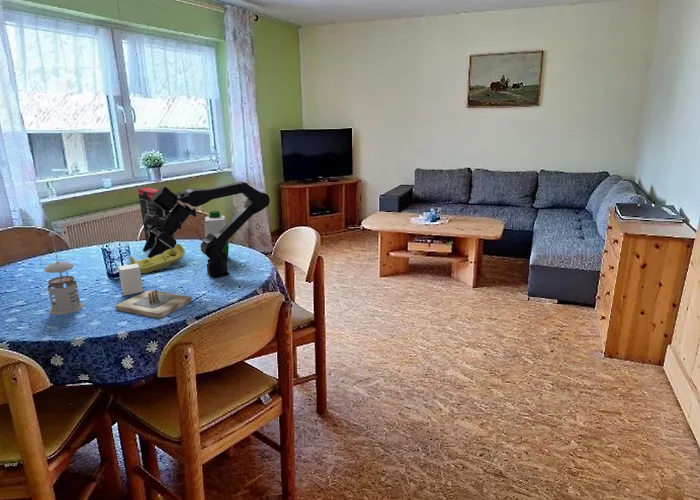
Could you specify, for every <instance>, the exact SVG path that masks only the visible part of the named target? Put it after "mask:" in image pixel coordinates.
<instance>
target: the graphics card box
mask: <svg viewBox="0 0 700 500" xmlns="http://www.w3.org/2000/svg"><path fill="white" fill-rule="evenodd" d="M159 190H160V189H157V188H153V187H143V188H142V187H141V188H137V192H138V199H139V206H140V213H141V218H142V225H143V230H144V236H145V237H144V238H145V243H146V242H147V240H148V237H149V232H148V229H149V228H148V227H149V226H150V225H147V224H145V223H144V222H143V220H144V217H145V214H146V213H147V214H151V215H154V214H155V215H158V216H159V217H160V218H162V217H163V216H165V215H166V216H167V215H168V214H169V213H170V212H171V210H170V211H169V210H167V211H164V210H163V209H161V208H160V207H159V206H157V205H156V204H155V203H153V202H152V201H151V199H152V197H153V195H154V194H155V193H156V192H158V191H159ZM169 215H170V214H169ZM149 230H150V229H149ZM171 248H172V247H171ZM161 254H163V252H162V253H161Z"/></svg>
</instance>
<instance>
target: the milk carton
mask: <svg viewBox="0 0 700 500" xmlns="http://www.w3.org/2000/svg"><path fill="white" fill-rule="evenodd" d="M204 218H205V219H204V233H205V234H204V235H205V236H204V237H205V238H206V237H207V236H208V234H209V233H211V234H213V235H214V234H216V233H218V232H219V231H220V230H221V229H222V228H223V227H224V226H225V225H226V224H227V219H226V216H225V215H221V214H220V211H219V210H213V211H209V216H205V217H204ZM229 246H230V245H229V240H228V241H227V242H226V245H225V247H224V249H223V250H222V252H224V253H225V254H227V255H228V257H227V262H229V261H228V260H229ZM208 259H210V258H208Z"/></svg>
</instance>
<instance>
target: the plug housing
mask: <svg viewBox="0 0 700 500" xmlns="http://www.w3.org/2000/svg"><path fill="white" fill-rule="evenodd" d="M117 267H118V274H119V279H120V284H121V292H122V293H123V296H128V295H133V294H138V293H140V294H141V293H144V288H143V281H142V273H140V267H139V265H138V264H137V263H136V264H125V265H120V266H117Z"/></svg>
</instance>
